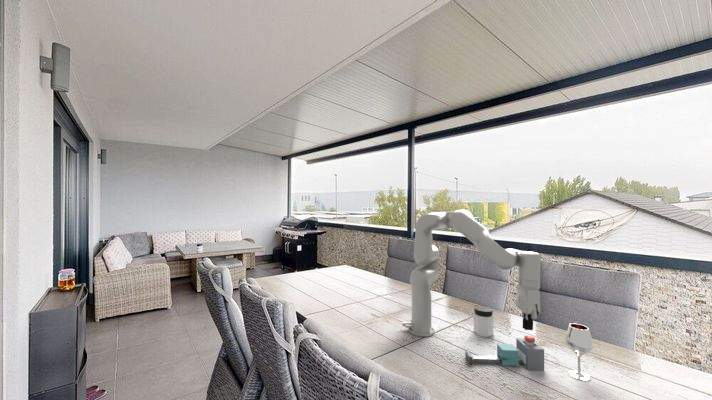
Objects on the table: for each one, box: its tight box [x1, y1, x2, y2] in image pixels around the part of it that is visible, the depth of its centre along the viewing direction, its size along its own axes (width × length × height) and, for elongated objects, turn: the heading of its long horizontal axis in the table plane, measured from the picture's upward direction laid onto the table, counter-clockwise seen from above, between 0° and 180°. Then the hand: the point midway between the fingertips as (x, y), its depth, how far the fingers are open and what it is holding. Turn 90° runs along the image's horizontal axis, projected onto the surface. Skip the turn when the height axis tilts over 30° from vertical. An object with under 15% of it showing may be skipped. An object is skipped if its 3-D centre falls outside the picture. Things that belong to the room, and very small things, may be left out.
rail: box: [464, 350, 524, 366], centre depth 116 cm, size 21×5×3 cm, turn 87°
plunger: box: [524, 335, 536, 346], centre depth 116 cm, size 4×4×5 cm
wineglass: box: [564, 323, 594, 382], centre depth 108 cm, size 8×8×18 cm
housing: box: [515, 337, 545, 372], centre depth 116 cm, size 6×9×8 cm
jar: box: [473, 305, 495, 338], centre depth 143 cm, size 9×8×12 cm
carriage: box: [496, 343, 520, 367], centre depth 116 cm, size 6×5×6 cm
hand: (527, 329), depth 116 cm, fingers closed
